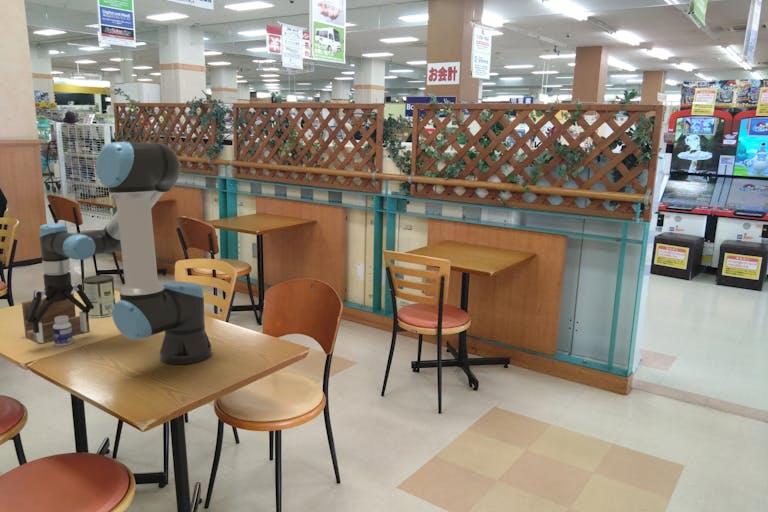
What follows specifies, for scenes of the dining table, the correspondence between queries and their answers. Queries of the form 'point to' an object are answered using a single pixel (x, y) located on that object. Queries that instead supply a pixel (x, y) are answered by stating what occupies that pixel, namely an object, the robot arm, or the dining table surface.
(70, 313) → the wooden display stand
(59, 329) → the pill bottle
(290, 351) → the dining table surface
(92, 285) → the coffee can
